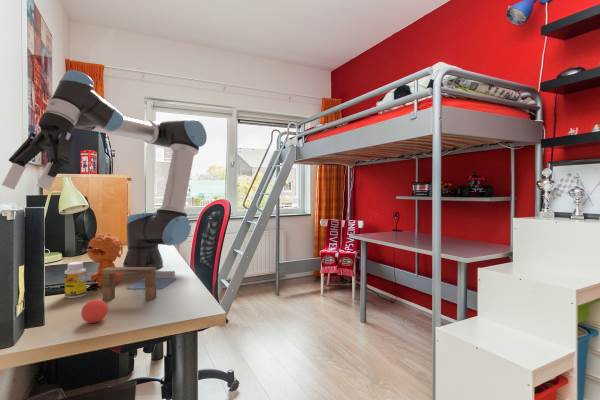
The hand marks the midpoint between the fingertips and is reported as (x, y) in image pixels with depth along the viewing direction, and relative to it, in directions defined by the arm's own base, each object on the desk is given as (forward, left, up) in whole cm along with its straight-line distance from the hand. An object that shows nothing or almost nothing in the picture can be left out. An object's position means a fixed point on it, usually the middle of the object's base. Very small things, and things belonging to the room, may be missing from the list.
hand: (24, 187), depth 83 cm
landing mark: (-28, +20, -33) cm, 48 cm away
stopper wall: (-35, +20, -33) cm, 52 cm away
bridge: (-12, +20, -33) cm, 41 cm away
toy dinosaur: (-27, +4, -34) cm, 43 cm away
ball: (+5, +20, -31) cm, 37 cm away
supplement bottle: (-15, +2, -34) cm, 37 cm away
